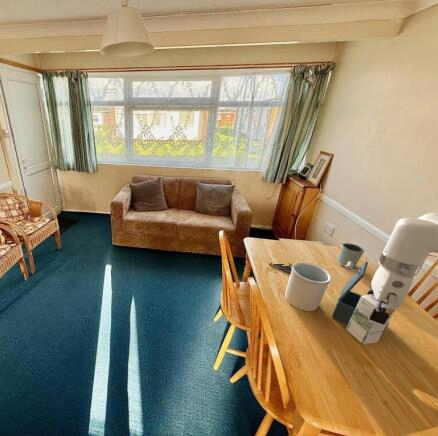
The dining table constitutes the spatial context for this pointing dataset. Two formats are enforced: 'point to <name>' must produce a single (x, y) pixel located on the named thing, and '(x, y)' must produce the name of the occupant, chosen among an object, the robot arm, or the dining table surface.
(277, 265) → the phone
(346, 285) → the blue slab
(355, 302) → the chest
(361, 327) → the syrup box
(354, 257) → the grey-green pot
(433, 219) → the robot arm
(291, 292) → the utensil holder
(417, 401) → the dining table surface
